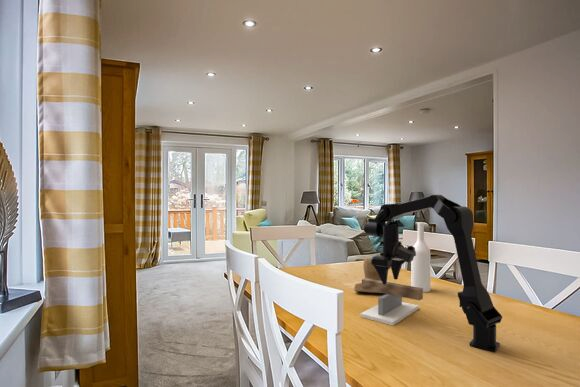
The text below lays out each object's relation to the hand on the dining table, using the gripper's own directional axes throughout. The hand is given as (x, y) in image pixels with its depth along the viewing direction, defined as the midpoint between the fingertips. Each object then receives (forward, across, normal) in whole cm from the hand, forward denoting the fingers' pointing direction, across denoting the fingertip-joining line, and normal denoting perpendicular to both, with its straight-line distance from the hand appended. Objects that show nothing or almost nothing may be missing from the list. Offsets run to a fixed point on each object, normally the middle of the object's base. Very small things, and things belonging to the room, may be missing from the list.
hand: (390, 281), depth 126 cm
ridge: (+11, 0, 0) cm, 11 cm away
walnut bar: (+4, 0, 0) cm, 4 cm away
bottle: (+11, +37, +3) cm, 39 cm away
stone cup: (+12, +20, +18) cm, 29 cm away
